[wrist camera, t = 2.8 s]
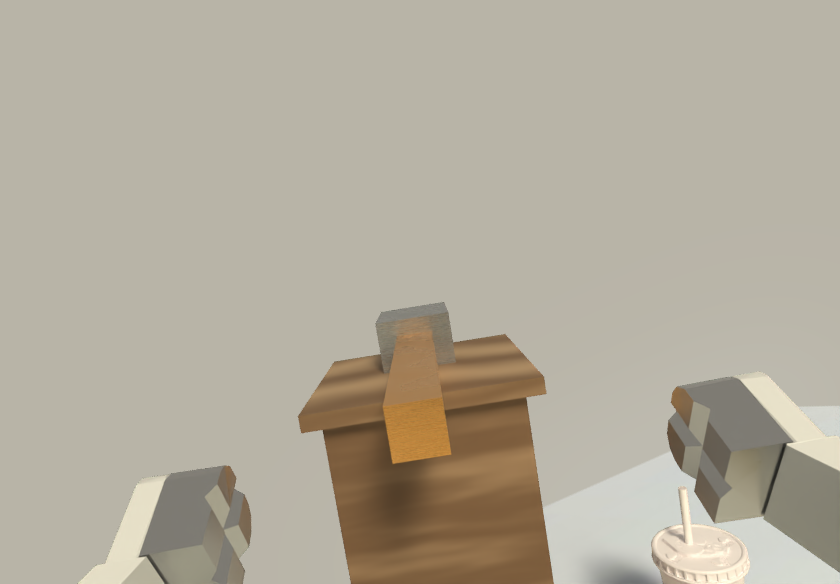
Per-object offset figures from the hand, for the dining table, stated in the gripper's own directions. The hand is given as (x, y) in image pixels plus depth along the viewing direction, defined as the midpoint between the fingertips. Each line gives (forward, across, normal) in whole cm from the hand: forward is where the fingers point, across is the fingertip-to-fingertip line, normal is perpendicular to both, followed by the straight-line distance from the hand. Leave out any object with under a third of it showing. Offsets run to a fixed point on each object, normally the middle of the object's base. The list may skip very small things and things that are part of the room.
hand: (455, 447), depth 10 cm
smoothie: (+11, -17, +41) cm, 45 cm away
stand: (+11, +1, +40) cm, 42 cm away
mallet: (+19, +1, +15) cm, 24 cm away
